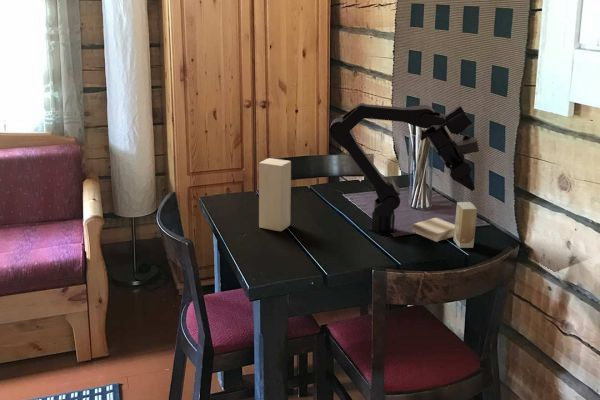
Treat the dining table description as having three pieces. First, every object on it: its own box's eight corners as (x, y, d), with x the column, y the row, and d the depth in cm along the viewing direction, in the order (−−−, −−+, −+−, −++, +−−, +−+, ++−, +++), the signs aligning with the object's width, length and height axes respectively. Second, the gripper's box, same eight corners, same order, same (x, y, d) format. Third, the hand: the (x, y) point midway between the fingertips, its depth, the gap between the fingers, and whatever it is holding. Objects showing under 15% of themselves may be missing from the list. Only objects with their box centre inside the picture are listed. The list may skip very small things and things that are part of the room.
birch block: (436, 243, 204) (437, 233, 203) (412, 232, 212) (413, 223, 211) (459, 236, 209) (460, 226, 208) (435, 226, 217) (436, 217, 216)
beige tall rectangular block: (292, 224, 217) (292, 160, 210) (281, 231, 211) (281, 165, 204) (269, 220, 220) (269, 157, 214) (258, 227, 214) (257, 162, 207)
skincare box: (452, 240, 205) (456, 201, 201) (467, 240, 205) (470, 201, 201) (459, 248, 199) (462, 208, 195) (474, 248, 199) (477, 208, 195)
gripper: (472, 135, 191) (501, 179, 195) (461, 121, 209) (488, 161, 212) (438, 157, 194) (467, 200, 197) (430, 141, 211) (456, 181, 215)
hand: (470, 185), depth 205 cm, fingers open, 9 cm apart
